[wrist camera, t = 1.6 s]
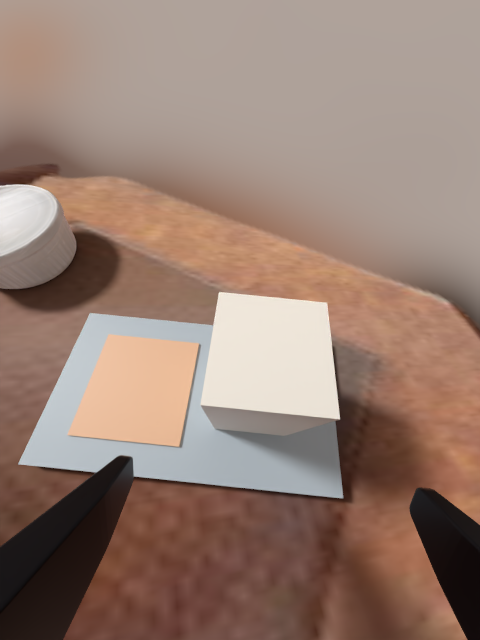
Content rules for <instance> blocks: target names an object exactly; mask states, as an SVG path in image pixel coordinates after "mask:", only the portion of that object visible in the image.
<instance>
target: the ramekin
mask: <svg viewBox="0 0 480 640" xmlns="http://www.w3.org/2000/svg"><path fill="white" fill-rule="evenodd" d="M75 252H76V240H75V236H74V234H73V232H72V230H71V228H70V226H69V224H68V222H67V220H66V218H65V216H64V211H63V208H62V206H61V204H60V203H59V201H58V200H57V199H56V197H55V196H54V195H53V194H52V193H51V192H49V191H47V190H45V189H43V188H40V187H36V186H30V185H6V186H0V288H3V289H23V288H30V287H34V286H37V285H40V284H43V283H45V282H48V281H50V280H51V279H53V278H55V277H56V276H58V275H59V274H61V273H62V272H63V271H64V270H65V269H66V268H67V267H68V266H69V265H70V263H71V262H72V260H73V258H74V255H75Z"/></svg>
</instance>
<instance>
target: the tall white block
mask: <svg viewBox="0 0 480 640" xmlns="http://www.w3.org/2000/svg"><path fill="white" fill-rule="evenodd" d="M200 405H201V407H202V409H203V410H204V412H205V414H206V415H207V417H208V419H209V420H210V422H211V424H212V425H213V427H214V429H222V430H232V431H241V432H251V433H261V434H270V435H280V436H286V435H289V434H293V433H296V432H299V431H303V430H306V429H309V428H313V427H316V426H320V425H323V424H326V423H330V422H333V421H336V420H340V414H339V405H338V396H337V387H336V378H335V369H334V360H333V351H332V343H331V334H330V325H329V316H328V307H327V303H324V302H314V301H304V300H294V299H284V298H274V297H264V296H253V295H243V294H233V293H223V292H219V296H218V302H217V308H216V314H215V320H214V326H213V332H212V338H211V344H210V350H209V356H208V362H207V368H206V374H205V380H204V386H203V392H202V398H201V404H200Z"/></svg>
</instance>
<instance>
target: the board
mask: <svg viewBox="0 0 480 640" xmlns="http://www.w3.org/2000/svg"><path fill="white" fill-rule="evenodd" d="M213 326H214V325H204V324H194V323H184V322H174V321H164V320H154V319H144V318H134V317H124V316H114V315H104V314H94V313H90V315H89V317H88V319H87V321H86V323H85V325H84V327H83V329H82V331H81V333H80V336H79V338H78V340H77V342H76V344H75V346H74V348H73V350H72V352H71V354H70V357H69V359H68V361H67V363H66V365H65V367H64V369H63V371H62V373H61V375H60V377H59V380H58V382H57V384H56V386H55V388H54V390H53V392H52V394H51V396H50V398H49V401H48V403H47V405H46V407H45V409H44V411H43V413H42V415H41V417H40V419H39V421H38V424H37V426H36V428H35V430H34V432H33V434H32V436H31V438H30V440H29V442H28V445H27V447H26V449H25V451H24V453H23V455H22V457H21V459H20V461H19V463H18V464H21V465H31V466H40V467H50V468H59V469H69V470H78V471H87V472H98V471H99V470H100V469H102V468H103V467H104V466H106V465H107V464H108V463H109V462H111V461H112V460H113V459H115V458H116V457H117V456H119V455H125V456H131V457H132V458H133V470H134V476H135V477H144V478H154V479H163V480H173V481H182V482H192V483H201V484H210V485H220V486H229V487H239V488H248V489H258V490H267V491H277V492H286V493H296V494H305V495H315V496H324V497H333V498H343V490H342V481H341V471H340V461H339V451H338V442H337V432H336V422H335V421H333V422H330V423H326V424H323V425H320V426H316V427H313V428H309V429H306V430H303V431H299V432H296V433H293V434H289V435H286V436H280V435H270V434H261V433H251V432H241V431H232V430H222V429H214V427H213V425H212V424H211V422H210V420H209V419H208V417H207V415H206V414H205V412H204V410H203V409H202V407H201V405H200V404H201V398H202V392H203V386H204V380H205V374H206V368H207V362H208V356H209V350H210V344H211V338H212V332H213Z"/></svg>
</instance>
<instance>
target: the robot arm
mask: <svg viewBox="0 0 480 640" xmlns="http://www.w3.org/2000/svg"><path fill="white" fill-rule="evenodd" d="M133 478H134V470H133V458H132V457H131V456H125V455H119V456H117V457H116V458H115V459H113V460H112V461H111V462H109V463H108V464H107V465H106V466H104V467H103V468H102V469H100V470H99V471H98V472H96V473H95V474H94V475H93V476H91V477H90V478H89V479H87V480H86V481H85V482H83V483H82V484H81V485H80V486H78V487H77V488H76V489H74V490H73V491H72V492H71V493H69V494H68V495H67V496H65V497H64V498H63V499H61V500H60V501H59V502H58V503H56V504H55V505H54V506H52V507H51V508H50V509H49V510H47V511H46V512H45V513H43V514H42V515H41V516H39V517H38V518H37V519H36V520H34V521H33V522H32V523H30V524H29V525H28V526H26V527H25V528H24V529H23V530H21V531H20V532H19V533H17V534H16V535H15V536H14V537H12V538H11V539H10V540H8V541H7V542H6V543H4V544H3V545H2V546H1V547H0V640H63V638H64V636H65V634H66V632H67V630H68V628H69V626H70V624H71V622H72V620H73V618H74V616H75V614H76V611H77V609H78V607H79V605H80V603H81V601H82V599H83V597H84V595H85V593H86V591H87V589H88V587H89V585H90V583H91V580H92V578H93V576H94V574H95V572H96V570H97V568H98V566H99V564H100V562H101V560H102V558H103V556H104V553H105V551H106V549H107V547H108V545H109V542H110V540H111V537H112V535H113V532H114V530H115V527H116V525H117V522H118V519H119V517H120V514H121V512H122V509H123V506H124V504H125V501H126V499H127V496H128V493H129V491H130V488H131V486H132V483H133ZM410 514H411V517H412V519H413V522H414V524H415V526H416V529H417V531H418V534H419V536H420V538H421V541H422V543H423V546H424V548H425V550H426V553H427V555H428V558H429V560H430V562H431V565H432V567H433V570H434V572H435V574H436V576H437V579H438V581H439V583H440V585H441V587H442V589H443V592H444V594H445V596H446V598H447V600H448V602H449V604H450V606H451V608H452V610H453V612H454V614H455V616H456V618H457V620H458V622H459V624H460V626H461V628H462V630H463V632H464V634H465V636H466V638H467V640H480V525H479V524H478V523H476V522H475V521H474V520H473V519H471V518H470V517H469V516H467V515H466V514H465V513H463V512H462V511H461V510H460V509H458V508H457V507H456V506H454V505H453V504H452V503H450V502H449V501H448V500H447V499H445V498H444V497H443V496H441V495H440V494H439V493H437V492H436V491H435V490H433V489H430V488H421V487H420V488H417V489H416V491H415V494H414V496H413V499H412V501H411V504H410Z"/></svg>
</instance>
